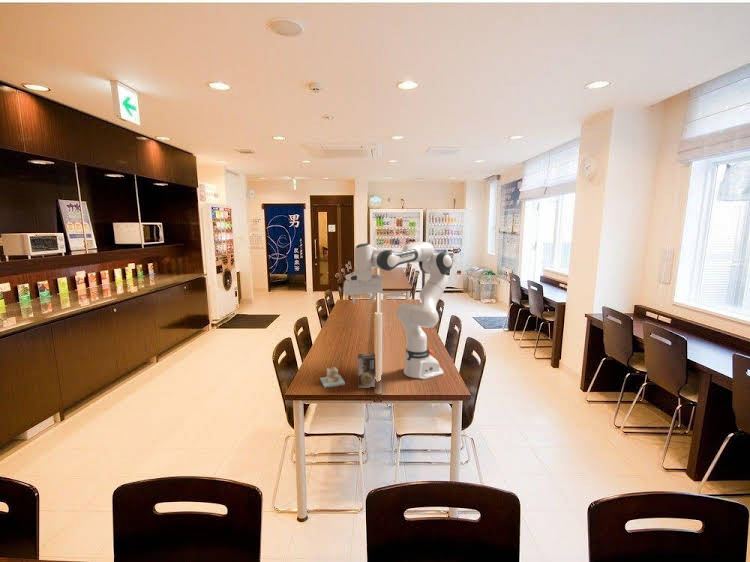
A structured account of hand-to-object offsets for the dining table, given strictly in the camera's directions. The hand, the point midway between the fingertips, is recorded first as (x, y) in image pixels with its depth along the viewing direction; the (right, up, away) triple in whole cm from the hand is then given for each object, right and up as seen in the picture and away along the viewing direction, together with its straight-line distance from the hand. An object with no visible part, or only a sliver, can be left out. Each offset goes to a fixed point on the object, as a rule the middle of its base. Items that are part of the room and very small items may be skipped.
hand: (363, 302), depth 181 cm
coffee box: (+2, -44, +2) cm, 44 cm away
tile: (-17, -43, +6) cm, 46 cm away
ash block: (-17, -42, +6) cm, 45 cm away
